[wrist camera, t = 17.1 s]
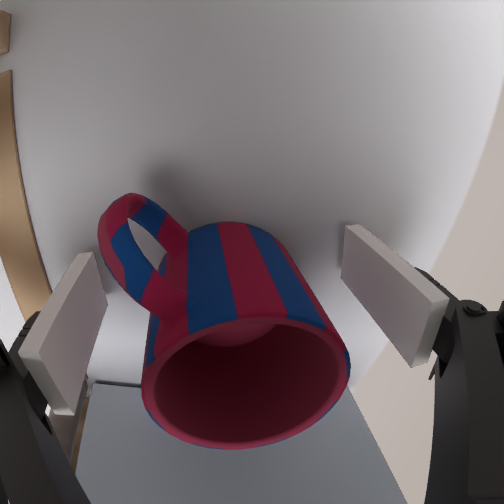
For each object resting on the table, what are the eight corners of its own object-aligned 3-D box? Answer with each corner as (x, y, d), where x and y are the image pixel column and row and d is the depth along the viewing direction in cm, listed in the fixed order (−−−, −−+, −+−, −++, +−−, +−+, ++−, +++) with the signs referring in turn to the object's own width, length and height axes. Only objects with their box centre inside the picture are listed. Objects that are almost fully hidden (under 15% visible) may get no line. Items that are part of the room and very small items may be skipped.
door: (100, 409, 17) (84, 591, 6) (93, 383, 16) (67, 586, 5) (334, 407, 21) (401, 557, 9) (345, 383, 20) (427, 544, 8)
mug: (202, 359, 17) (213, 465, 11) (87, 207, 13) (17, 288, 6) (312, 304, 17) (368, 401, 11) (222, 126, 12) (252, 140, 6)
